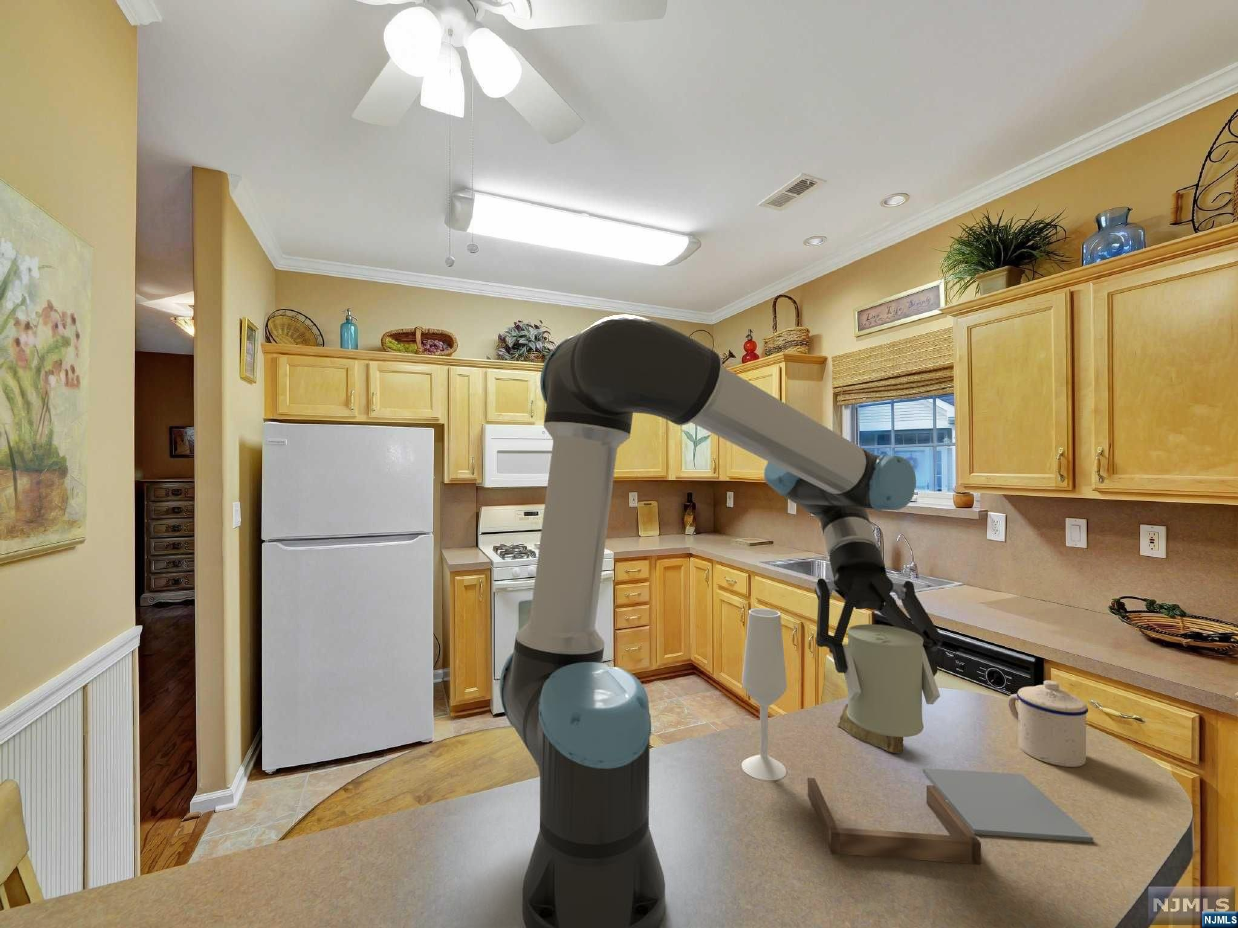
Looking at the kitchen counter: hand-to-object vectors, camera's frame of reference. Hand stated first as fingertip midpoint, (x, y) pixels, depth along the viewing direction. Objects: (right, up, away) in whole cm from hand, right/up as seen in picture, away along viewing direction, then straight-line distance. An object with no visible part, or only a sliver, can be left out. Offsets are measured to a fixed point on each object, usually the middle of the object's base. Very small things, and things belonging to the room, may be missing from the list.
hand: (894, 698), depth 70 cm
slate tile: (+17, -17, +6) cm, 25 cm away
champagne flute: (-13, -17, +14) cm, 26 cm away
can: (0, -5, +3) cm, 6 cm away
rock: (+8, -17, +23) cm, 30 cm away
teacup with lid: (+35, -17, +20) cm, 44 cm away
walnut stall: (-1, -17, +1) cm, 17 cm away
